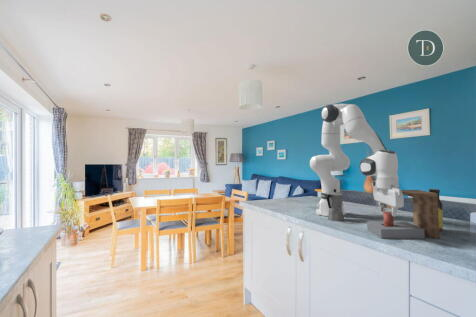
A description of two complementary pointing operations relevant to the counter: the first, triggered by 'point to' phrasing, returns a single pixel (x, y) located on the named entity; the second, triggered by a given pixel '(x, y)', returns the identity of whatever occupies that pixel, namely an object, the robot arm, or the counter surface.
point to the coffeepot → (335, 206)
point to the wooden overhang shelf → (425, 211)
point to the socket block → (396, 230)
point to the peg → (388, 219)
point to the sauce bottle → (439, 208)
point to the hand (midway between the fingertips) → (388, 213)
